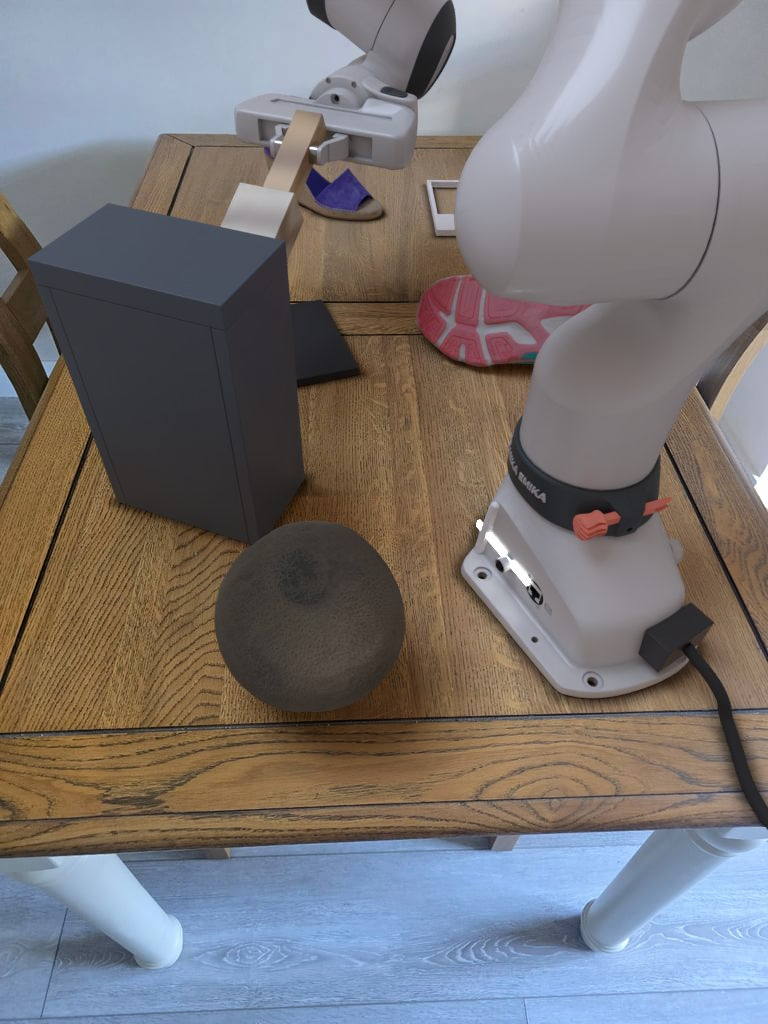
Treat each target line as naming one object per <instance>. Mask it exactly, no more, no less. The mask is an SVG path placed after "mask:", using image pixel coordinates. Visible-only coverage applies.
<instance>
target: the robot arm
mask: <svg viewBox="0 0 768 1024" xmlns="http://www.w3.org/2000/svg"><path fill="white" fill-rule="evenodd" d="M743 1H744V0H558V8H557V13H556V17H555V21H554V25H553V29H552V31H551V36H550V37H549V38H550V39H549V42H548V45H547V47H546V50H545V53H544V55H543V57H542V59H541V62H540V63H539V65H538V67H537V69H536V71H535V73H534V75H533V77H532V78H531V80H530V82H529V83H528V84H527V86H526V88H525V89H524V91H523V92H522V94H521V95H520V96H519V97H518V99H517V100H516V101H515V103H513V105H512V106H511V107H510V108H509V109H508V110H507V111H506V112H505V113H504V114H503V116H501V117H500V118H499V119H498V120H497V121H496V122H495V123H494V124H493V125H491V126H490V127H489V128H488V129H487V130H486V132H485V133H484V134H483V135H482V137H481V138H480V139H479V140H478V141H477V143H476V145H475V146H474V147H473V149H472V150H471V152H470V154H469V156H468V158H467V160H466V162H465V163H464V166H463V169H462V171H461V173H460V176H459V179H458V180H459V183H458V187H456V191H455V195H454V204H453V206H454V207H453V214H454V225H455V234H456V236H455V239H456V242H457V246H458V249H459V252H460V255H461V257H462V260H463V262H464V265H465V266H466V268H467V269H468V271H469V273H470V275H472V276H473V277H474V278H475V280H476V281H477V282H478V283H479V285H480V286H481V287H482V288H483V289H484V290H485V291H486V292H487V293H489V294H490V295H492V296H494V297H499V298H505V299H511V300H517V301H524V302H530V303H539V304H548V305H556V306H572V305H585V304H593V305H591V306H590V307H588V308H587V309H585V310H583V311H581V312H580V313H578V314H576V315H575V316H573V317H571V318H570V319H568V320H567V321H565V322H564V323H563V324H561V325H560V326H559V327H558V328H556V329H555V330H554V331H553V332H552V333H551V335H550V336H549V337H548V338H547V339H546V341H545V342H544V344H543V345H542V347H541V349H540V351H539V353H538V355H537V357H536V360H535V364H533V369H532V373H531V378H530V382H529V387H528V391H527V395H526V400H525V404H524V408H523V414H522V415H521V416H520V417H519V419H518V420H517V421H516V425H515V427H514V431H513V433H512V434H511V437H510V441H509V443H508V444H509V445H508V454H507V460H506V466H507V471H506V473H505V475H504V477H503V479H502V481H501V483H500V485H499V487H498V489H497V490H496V492H495V494H494V496H493V498H492V499H491V501H490V503H489V506H488V509H487V510H486V514H485V517H484V519H483V521H482V520H481V519H478V520H477V521H476V528H477V529H478V535H477V539H476V543H475V545H474V546H473V548H472V549H471V550H470V551H469V552H468V554H467V555H466V556H465V558H464V559H463V562H462V564H461V567H460V574H461V576H462V578H463V579H464V581H465V582H467V584H468V585H469V586H470V588H471V589H472V590H473V591H474V593H475V594H476V595H477V596H478V598H479V599H480V600H481V601H482V603H483V604H484V605H485V606H486V607H487V608H488V610H489V611H490V612H491V613H492V614H493V616H494V617H495V618H496V620H498V622H499V623H500V625H501V626H502V627H503V628H504V629H505V630H506V632H507V633H508V634H509V635H510V636H511V638H512V639H513V640H514V641H515V643H516V644H517V645H518V646H519V647H520V649H521V650H522V651H523V652H524V653H525V655H526V656H527V657H528V658H529V660H530V661H531V662H532V663H533V664H534V666H535V667H536V668H537V669H538V671H539V672H540V673H541V674H542V676H543V677H544V678H545V679H546V680H547V682H548V683H549V684H550V685H551V687H552V688H554V689H555V690H556V692H558V693H560V694H562V695H565V696H570V697H574V698H580V699H581V698H583V699H603V698H604V699H605V698H611V697H612V698H613V697H617V696H623V695H627V694H631V693H634V692H637V691H640V690H643V689H646V688H649V687H651V686H653V685H656V684H659V683H661V682H662V681H663V682H664V681H665V680H666V679H669V678H670V677H672V676H674V675H675V674H677V673H678V672H680V671H681V670H682V669H683V668H684V667H685V666H687V664H688V663H689V662H690V663H691V664H692V665H693V667H694V668H695V669H696V670H697V672H698V673H699V674H700V676H701V677H702V679H703V681H705V683H706V684H707V686H708V688H709V689H710V691H711V692H712V695H713V696H714V698H715V702H716V705H717V713H718V718H719V721H720V724H721V727H722V730H723V733H724V736H725V739H726V743H727V747H728V749H729V752H730V757H731V760H732V763H733V767H734V770H735V774H736V777H737V780H738V782H739V785H740V787H741V789H742V793H743V794H744V796H745V798H746V800H747V802H748V804H749V806H750V807H751V809H752V810H753V812H754V814H755V816H757V818H758V820H759V821H760V823H762V825H763V826H764V827H765V829H766V830H767V831H768V805H767V804H766V802H765V801H764V799H763V797H762V795H761V793H760V792H759V789H758V787H757V785H756V784H755V781H754V778H753V775H752V773H751V770H750V767H749V764H748V762H747V758H746V754H745V751H744V748H743V747H744V746H743V745H742V744H743V743H742V741H741V737H740V735H739V731H738V729H737V726H736V723H735V720H734V716H733V711H732V703H731V699H730V697H729V695H728V692H727V689H726V688H725V686H724V684H723V683H722V681H721V680H720V678H719V677H718V675H717V673H716V672H715V671H714V670H713V668H712V667H711V665H709V663H708V662H707V660H706V659H705V658H704V656H702V654H701V653H700V652H699V650H698V649H697V648H698V646H699V645H700V644H701V643H702V642H703V640H704V639H705V638H706V636H707V634H708V633H709V631H710V630H711V628H712V627H713V625H714V624H715V622H714V621H713V620H712V619H711V618H710V617H709V616H708V615H706V613H704V612H703V610H701V609H700V608H699V607H698V606H696V605H695V604H694V603H693V602H689V603H687V604H686V605H685V602H686V601H685V600H686V588H685V584H684V581H683V578H682V576H681V572H680V570H679V567H678V564H680V563H681V562H682V561H683V559H684V549H683V545H682V544H681V541H680V540H679V539H677V538H675V537H671V538H669V537H668V534H667V532H666V529H665V526H664V523H663V520H662V518H661V515H660V513H659V512H662V511H664V510H665V509H668V508H669V504H668V503H669V502H671V501H672V500H673V497H672V496H667V497H663V498H659V495H660V484H661V483H660V482H661V470H662V466H661V464H662V461H661V460H662V455H661V453H662V450H663V448H664V446H665V443H666V441H667V439H668V437H669V436H670V433H671V431H672V429H673V428H674V427H673V426H674V424H675V422H676V420H677V419H678V416H679V414H680V413H681V410H682V408H683V407H684V405H685V403H686V401H687V399H688V398H689V396H690V394H691V393H692V391H693V389H695V387H696V385H697V384H698V382H699V381H700V380H701V379H702V377H703V376H704V375H705V374H706V372H707V371H708V370H709V369H710V368H711V367H712V365H713V364H714V363H716V361H717V360H718V359H719V358H720V357H721V356H722V355H723V354H724V352H726V351H727V350H728V349H729V347H731V345H733V343H735V341H737V339H739V338H740V336H742V335H743V333H744V332H746V331H747V330H748V329H749V328H750V327H751V326H752V325H753V324H755V322H757V320H758V319H760V318H762V316H764V314H766V313H767V312H768V97H767V98H766V97H764V98H741V99H740V98H739V99H738V98H737V99H714V100H713V99H711V100H692V101H691V100H689V101H688V100H685V99H682V94H681V71H682V65H683V58H684V55H685V51H686V48H687V44H688V43H689V42H691V41H693V40H694V39H695V38H697V37H699V36H700V35H701V34H703V33H705V32H706V31H708V30H709V29H710V28H711V27H713V26H715V25H716V24H718V23H719V22H720V21H722V20H723V19H724V18H726V17H727V16H728V15H729V14H730V13H732V11H734V10H735V9H736V8H737V7H738V6H739V5H740V4H741V3H742V2H743ZM305 2H306V6H307V8H308V11H309V13H310V15H312V16H313V17H315V18H316V19H318V20H319V21H320V22H322V23H324V24H325V25H326V26H328V27H330V29H332V30H334V31H337V32H338V33H340V34H341V35H342V36H343V37H344V38H346V39H347V40H348V41H350V42H351V43H352V44H354V45H355V46H356V47H357V48H358V49H360V50H361V51H362V52H363V53H364V54H362V55H360V56H358V57H357V58H355V59H353V60H352V61H350V62H349V63H348V64H347V65H346V66H343V67H340V68H339V69H337V70H335V71H334V72H332V73H330V74H329V75H328V76H326V77H324V78H322V79H321V80H320V81H319V82H317V83H316V84H315V86H314V87H313V89H312V90H311V92H310V94H309V97H308V98H306V97H301V96H296V95H287V94H282V93H264V94H260V95H256V96H254V97H252V98H248V99H247V100H245V101H242V102H240V103H238V104H236V106H235V107H234V110H233V117H234V128H235V134H236V136H237V139H238V141H239V142H240V143H243V144H247V145H253V146H258V147H263V148H264V147H269V148H270V154H271V157H276V155H277V153H278V150H279V148H280V146H281V143H282V141H283V139H284V137H285V134H286V132H287V130H288V127H289V125H290V123H291V121H292V118H293V116H294V114H295V112H296V110H303V111H309V112H315V113H321V114H323V118H324V122H325V125H326V129H327V134H326V136H325V138H324V141H323V142H322V143H321V142H314V143H313V145H310V147H309V156H310V157H309V163H310V164H313V166H320V167H324V166H325V165H326V164H327V163H332V162H338V161H340V162H341V161H342V162H346V163H354V164H358V165H362V166H363V165H364V166H368V167H369V166H370V167H375V168H379V169H384V170H389V171H390V170H391V171H399V170H404V169H405V168H407V167H408V166H409V165H410V163H411V162H412V160H413V158H414V155H415V150H416V144H417V137H418V125H419V124H418V123H419V105H418V100H420V99H422V98H424V97H425V96H426V95H427V94H428V93H429V91H430V90H431V89H433V86H434V85H435V84H436V82H437V81H438V79H439V78H440V76H441V74H442V73H443V71H444V69H445V67H446V65H447V64H448V62H449V59H450V57H451V55H452V53H453V50H454V48H455V45H456V40H457V17H456V16H457V15H456V9H455V4H454V2H453V0H305ZM295 96H296V97H295ZM481 577H482V578H483V579H482V578H481ZM589 682H592V683H593V684H594V686H593V685H590V684H589Z"/></svg>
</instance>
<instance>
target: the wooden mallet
mask: <svg viewBox="0 0 768 1024" xmlns="http://www.w3.org/2000/svg"><path fill="white" fill-rule="evenodd" d="M326 134H327V129H326V125H325V122H324V118H323V114H321V113H315V112H309V111H303V110H296V112H295V114H294V116H293V118H292V121H291V123H290V125H289V127H288V130H287V132H286V134H285V137H284V139H283V141H282V143H281V146H280V148H279V150H278V153H277V155H276V157H275V159H274V162H273V164H272V166H271V169H270V171H269V170H268V173H267V175H266V178H265V179H264V182H263V185H262V186H260V185H256V184H251V183H246V182H241V181H240V182H239V184H238V185H237V188H236V190H235V193H234V194H233V197H232V198H231V202H230V204H229V206H228V208H227V210H226V213H225V214H224V217H223V219H222V221H221V224H220V226H219V227H224V228H229V229H233V230H238V231H243V232H247V233H252V234H257V235H261V236H266V237H271V238H276V239H280V240H285V242H286V254H287V261H289V258H290V255H291V253H292V251H293V248H294V247H295V244H296V241H297V239H298V236H299V234H300V232H301V229H302V227H303V224H304V222H305V217H304V214H303V212H302V210H301V207H300V204H299V203H298V200H299V197H300V195H301V193H302V190H303V188H304V186H305V183H306V181H307V179H308V176H309V174H310V171H311V169H312V167H314V164H310V163H309V157H310V156H309V147H310V145H313V143H314V142H321V143H322V142H323V141H324V138H325V136H326Z"/></svg>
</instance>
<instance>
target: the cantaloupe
mask: <svg viewBox="0 0 768 1024" xmlns="http://www.w3.org/2000/svg"><path fill="white" fill-rule="evenodd" d="M213 617H214V618H213V619H214V620H213V624H214V630H215V631H214V633H215V636H216V641H217V642H216V643H217V647H218V649H219V652H220V655H221V657H222V660H223V662H224V664H225V666H226V667H227V669H228V671H229V672H230V674H231V676H232V677H233V678H234V679H235V682H237V683H238V684H239V685H240V687H242V688H243V689H245V691H247V692H248V693H249V694H250V695H252V696H253V697H255V698H256V699H257V700H258V701H260V702H262V703H263V704H265V705H266V706H269V707H272V708H273V709H276V710H279V711H284V712H290V713H304V712H311V713H320V712H330V711H335V710H341V709H342V708H345V707H348V706H351V705H353V704H356V703H357V702H359V701H361V700H362V699H364V698H365V697H366V696H367V695H368V694H370V693H371V692H372V691H373V690H374V689H375V688H377V686H378V685H380V684H381V682H382V681H383V680H384V679H385V678H386V676H387V675H388V674H389V673H390V671H391V670H392V669H393V667H394V666H395V664H396V662H397V660H398V659H399V656H400V654H401V651H402V647H403V644H404V641H405V637H406V631H407V630H406V625H407V624H406V613H405V605H404V600H403V596H402V593H401V590H400V586H399V585H398V581H397V580H396V578H395V576H394V574H393V573H392V570H391V568H390V567H389V565H388V564H387V563H386V561H385V560H384V559H383V557H382V556H381V554H380V553H379V552H378V551H377V550H376V548H375V547H374V546H373V545H372V544H370V543H369V541H367V540H366V538H364V537H363V536H362V535H361V534H360V533H358V532H357V531H355V530H353V528H352V529H351V528H350V527H348V526H347V525H344V524H340V523H338V522H332V521H327V520H302V521H301V520H299V521H294V522H290V523H286V524H283V525H281V526H279V527H276V528H273V529H272V531H271V532H270V533H269V534H267V535H266V536H264V537H262V538H261V539H259V540H258V541H257V542H256V543H255V544H253V545H250V546H249V547H247V548H245V549H243V550H242V551H241V552H240V553H239V554H238V555H237V557H236V558H235V560H234V561H233V563H232V564H231V566H230V568H229V569H228V570H227V572H226V574H225V576H224V577H223V579H222V581H221V583H220V585H219V587H218V593H217V597H216V601H215V607H214V616H213Z"/></svg>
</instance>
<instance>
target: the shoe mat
mask: <svg viewBox="0 0 768 1024" xmlns="http://www.w3.org/2000/svg"><path fill="white" fill-rule="evenodd" d="M290 304H291V317H292V329H293V341H294V354H295V366H296V379H297V387H300V386H306V385H311V384H315V383H321V382H326V381H330V380H332V381H333V380H336V379H342V378H348V377H352V376H356V375H357V376H358V375H359V369H360V368H359V366H358V364H357V362H356V361H355V359H354V357H353V354H352V353H351V351H350V350H349V347H348V346H347V343H346V342H345V340H344V338H343V337H342V334H341V332H340V330H339V329H338V327H337V325H336V324H335V321H334V320H333V318H332V316H331V314H330V313H329V311H328V308H327V307H326V305H325V303H324V301H323V299H322V298H319V299H314V300H308V301H301V302H296V303H290Z"/></svg>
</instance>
